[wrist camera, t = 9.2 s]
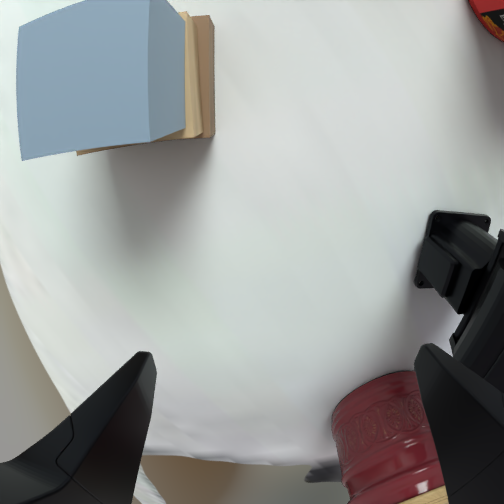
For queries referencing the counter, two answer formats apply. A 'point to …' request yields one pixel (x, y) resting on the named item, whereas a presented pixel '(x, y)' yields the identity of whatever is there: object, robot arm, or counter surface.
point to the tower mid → (191, 91)
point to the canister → (387, 444)
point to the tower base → (206, 73)
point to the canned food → (490, 15)
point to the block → (100, 76)
